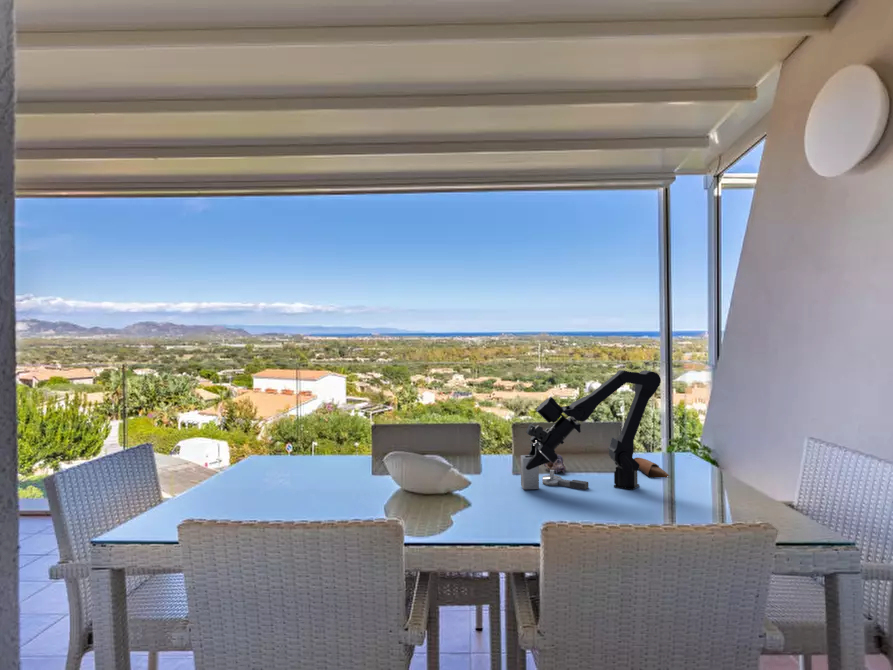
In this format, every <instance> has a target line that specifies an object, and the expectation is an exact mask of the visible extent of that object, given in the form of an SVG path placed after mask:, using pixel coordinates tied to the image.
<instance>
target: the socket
mask: <svg viewBox="0 0 893 670" xmlns="http://www.w3.org/2000/svg"><path fill="white" fill-rule="evenodd" d="M533 456H534V455H528V454H522V455H521V454H520V486H521V487H522V489H523V490H540V486H539V485H540V475H539V474H540V468H539V467H540V466H537V467H535V468H532V469H530V470H527V469H526V466H527V465H528V463H529V462H530V461H531V459H532V458H533Z"/></svg>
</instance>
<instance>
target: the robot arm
mask: <svg viewBox="0 0 893 670" xmlns="http://www.w3.org/2000/svg"><path fill="white" fill-rule="evenodd" d="M661 383H662V379H661V377H660V375H659V374H658V373H657V372H655V371H651V370H647V369H646V370H645V369H644V370H641V371H639V372H637V371H628V370H623V369H620V370H618V371H617V372H616V373H615V374H614V375H612V377H610V378H608V380H606V381H604V382H603V383H602V384H601V385H599V386H598V387H597V388H596V389H594V390H593V391H592V392H590V394H588V395H586V396H583V397H581V398H579V399H577V400H575V401H573V402H571V403H570V405H566V406H565V405H564V406H561V405H560V404H559V403H557V401H556V399H554V398H553V397H552V396H550V397H548V398H547V399H545V400H544V401H542V402H541V403H540V404H539V405H538V407H537V408H536V413H538V414H539V415H540V416H541V417H542V418H543V419H544V420H545V421H546V422H547V423H548V424H549V423H552V424H553V425H552V426H551V427H546V429H544V428H543V427H542V426H540V425H539V424H538V425H534V424H531V423H529V424H528V427H527V429H526V431H525V433H526V434H527V435H529V436H531V437H530V439H529V440H530V443H529V444H530V450H529V453H528V454H527V455H534V456H533V458H532V459H531V461H530V462H529V463H528V465H527V466H526V469H527V470H530V469H532V468H535V467H537V466H539V467H540V466H542V465H544V464H545V463H548V462H550V461H551V462H552V463H554V462H555V461H556V460H557V454H558V453H556V451H555V450H556V449H557V448H558V447H559V446H560V445H563V444H564V443H565V442H564V441H565V439H566V438H567V437H568V436H569V435H570V434H571V433H573V431H574V430H575V431H576V432H577V433H581V432H582V431H581V426H582V425H581V424H580V422H585V421H586V420H588V419H589V418H590V417H591V415H592V414H593V413H594V411H595V410H596V409H597V407H598V406H599V405H600V404H601V403H602V402H603V401H605V400H606V399H607V398H608V397H610V396H611V395H612V394H614V393H615V392H617V390H619V389H620V388H621V387H623V386H624V385H625V384H633V385H634V391H635V393H634V397H633V399H632V402H631V405H630V407H629V410H628V412H627V415H626V419H625V421H624V424H623V427H622V429H621V431H620V434H619V435H618V437H616V438H615V437H611V441H610V445H609V446H608V447H607V449H608V455H609V457H610V459H611V460H612V461H613V462H614V464H615V471H614V472H613V474H614V475H613V483H614V485H613V487H614V488H617V489H618V488H619V489H624V488H625V490H630V489H632V490H633V489H634V490H636V489H637V488H638V487H640V484H639V483H638V481H639V480H638V471H639V469H638V468H639V466H640V465H639V464H638V463H637V462H636V461H635V460H634V457H633V455H634V451H635V449H634V446H635V445H634V441H635V438H636V435H637V433H638V429H639V426H640V424H641V421H642V419H643V416H644V413H645V411H646V408H647V406H648V403H649V400H650V399H651V398H652V397H653V396H654V395H655V393H656V392H657V390H658V389H659V386H660V385H661ZM563 414H564V415H566V416H567V417H568V418H567V417H565V416H564V415H563ZM574 420H575V421H578V423H577V422H575V421H574ZM549 460H550V461H549ZM636 487H637V488H636ZM634 490H633V491H634Z"/></svg>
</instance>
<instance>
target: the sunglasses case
mask: <svg viewBox="0 0 893 670" xmlns="http://www.w3.org/2000/svg"><path fill="white" fill-rule="evenodd" d="M633 459H634V460H635V461H636V462H637V463H638V464H639V465H640V466H639V468H638V471H641V473H643V474H645V475H646V476H648V477H649V478H650V477H665V478H668V477H667V476H670V475H669V474H668V472H666V471H665V470H664V469H663V468H661V467H660V465H658V464H657V463H656V462H655V463H654V462H653V461H651V460H648V459H646V458H642V457H633Z"/></svg>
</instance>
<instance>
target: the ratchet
mask: <svg viewBox="0 0 893 670" xmlns="http://www.w3.org/2000/svg"><path fill="white" fill-rule="evenodd" d="M541 478H542V481H541V482H542V484H543V485H544V486H549V487H550V486H551V487H557V486H560V487H565V488H571V489H576V490H582V491H586V490H587V489H589V481H584V480H578V479H572V480H570V479H568V480H567V479H563V478H562V476H559V475H555V472H554V470H550V469H549V474H547V475H543V476H542V477H541Z"/></svg>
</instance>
